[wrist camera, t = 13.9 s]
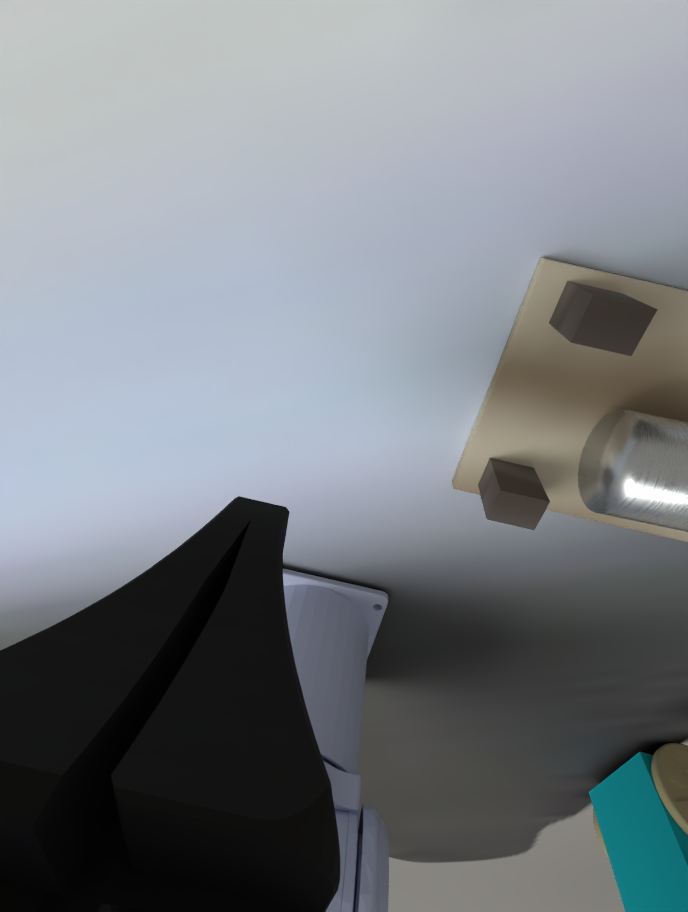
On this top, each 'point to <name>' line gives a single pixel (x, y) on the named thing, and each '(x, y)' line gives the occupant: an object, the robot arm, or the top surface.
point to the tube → (637, 469)
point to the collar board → (573, 389)
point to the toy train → (647, 829)
